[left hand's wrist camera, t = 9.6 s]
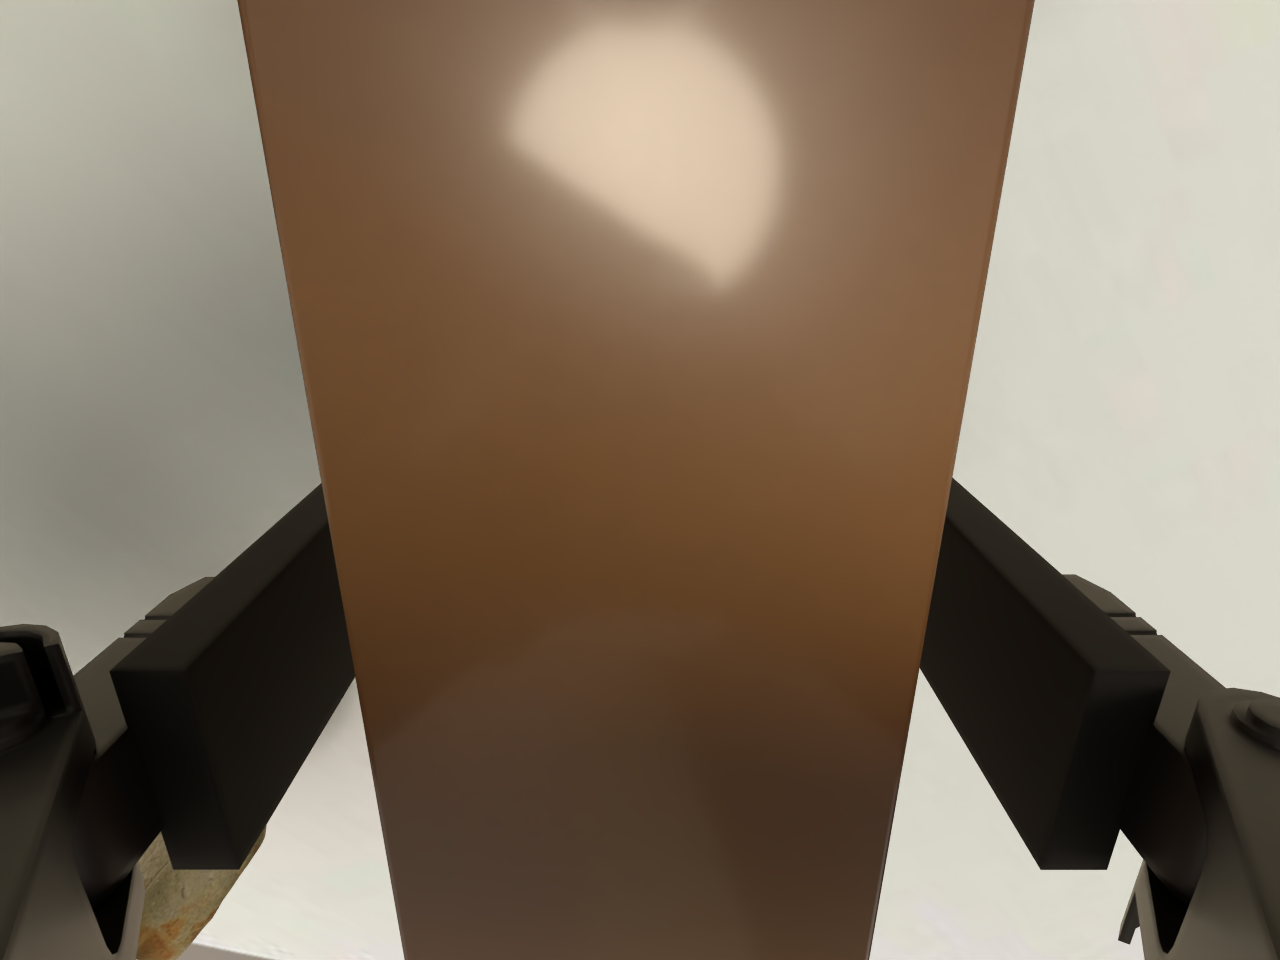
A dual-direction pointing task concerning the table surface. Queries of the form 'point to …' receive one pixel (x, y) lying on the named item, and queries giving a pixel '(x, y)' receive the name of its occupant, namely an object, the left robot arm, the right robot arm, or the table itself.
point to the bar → (636, 437)
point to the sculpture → (179, 901)
